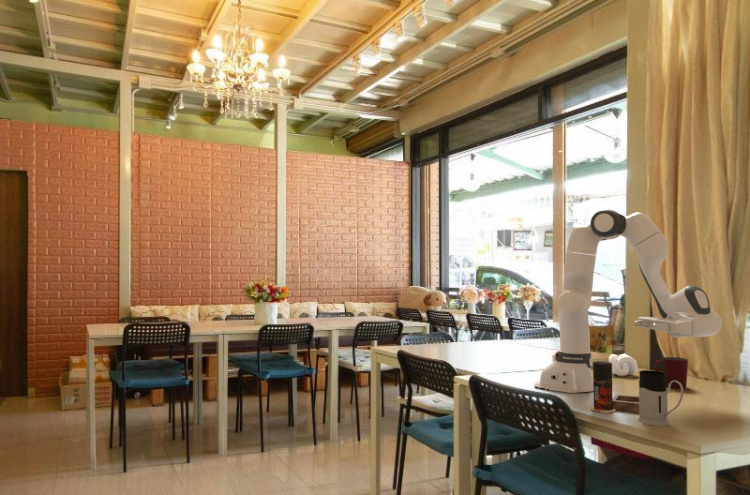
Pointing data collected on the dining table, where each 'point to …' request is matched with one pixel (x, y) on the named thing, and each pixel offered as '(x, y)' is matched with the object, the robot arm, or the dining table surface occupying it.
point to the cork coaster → (601, 410)
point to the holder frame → (626, 403)
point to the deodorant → (602, 386)
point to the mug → (675, 370)
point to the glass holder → (654, 397)
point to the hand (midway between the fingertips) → (644, 325)
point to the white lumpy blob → (623, 365)
